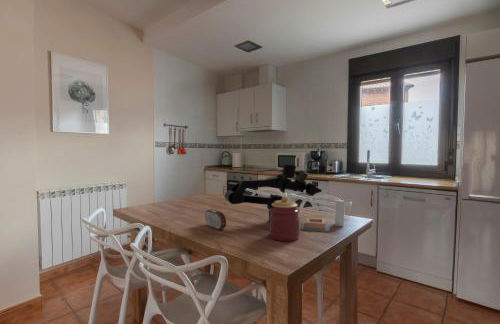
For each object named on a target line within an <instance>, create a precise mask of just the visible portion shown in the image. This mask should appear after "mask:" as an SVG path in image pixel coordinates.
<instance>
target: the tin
mask: <svg viewBox="0 0 500 324" xmlns="http://www.w3.org/2000/svg"><path fill="white" fill-rule="evenodd" d="M204 216H205V222H206V224H207V226H209V227H211V228H213V229H215V230H218V231H219V230H222V229H223V230H224V229H225V228H226V226H227V220H226V219H227V218H226V215H225V214H224V212H222V211H219V210H216V209H213V208H211V209H207V210H206V211H205V213H204Z"/></svg>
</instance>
